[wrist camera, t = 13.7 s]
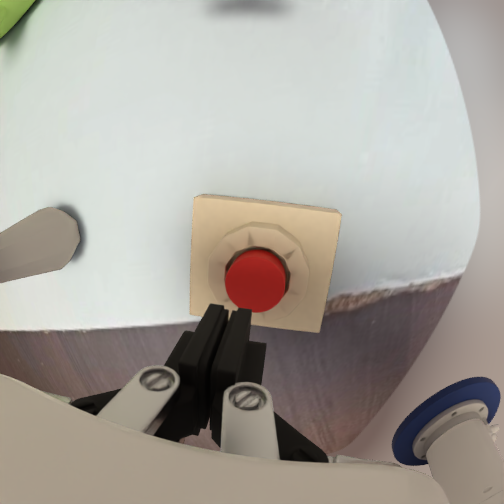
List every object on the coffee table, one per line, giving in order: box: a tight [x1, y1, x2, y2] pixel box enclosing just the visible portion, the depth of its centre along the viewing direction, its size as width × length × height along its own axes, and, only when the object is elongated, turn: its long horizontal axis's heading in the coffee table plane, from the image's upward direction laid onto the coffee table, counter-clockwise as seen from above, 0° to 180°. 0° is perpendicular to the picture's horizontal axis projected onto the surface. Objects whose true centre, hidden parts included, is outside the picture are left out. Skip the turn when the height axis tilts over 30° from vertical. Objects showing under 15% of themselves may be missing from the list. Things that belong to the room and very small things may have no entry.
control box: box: [190, 194, 342, 333], centre depth 21 cm, size 10×9×4 cm
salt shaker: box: [0, 207, 81, 283], centre depth 18 cm, size 6×6×13 cm
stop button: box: [225, 249, 286, 313], centre depth 18 cm, size 4×4×2 cm
